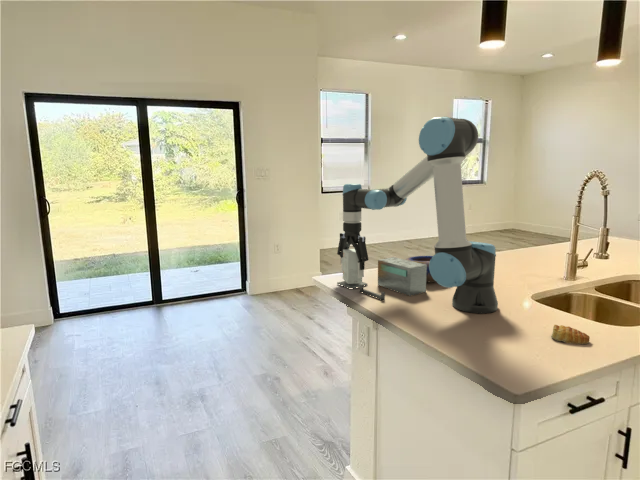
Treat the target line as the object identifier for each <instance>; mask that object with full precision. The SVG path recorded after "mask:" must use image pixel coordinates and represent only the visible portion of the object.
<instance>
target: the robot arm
mask: <svg viewBox="0 0 640 480" xmlns="http://www.w3.org/2000/svg"><path fill="white" fill-rule="evenodd" d="M478 140H479V131H478V128H477V126H476V125H475V124H474V123H473V122H472V121H471V120H468V119H466V118H458V117H457V118H456V117H449V116H436V117H432V118H430V119H429V120H428V121H426V122H425V124H424V125H423V126H422V127H421V128H420V131H419V135H418V145H419V149H420V150H421V151H422V152H423V153H424V154H426V156H425V157H424V158H423V159H421V160H420V161H419V162H418V163H417V164H416V165H414V166H413V167H412V168H411V169H410V170H408V172H405V174H404V175H403V176H402V177H401V176H400V178H399V179H398V180H396V181H395V182H394V183H392V185H391V186H389V187H386V188H375V189H373V188H372V189H369V188H367V189H366V188H365V189H363V188H362V184H361V183H345V184H344V185H343V186H342V221H343V223H342V231H343V232H340V233H339V243H338V247H337V253H336V255H338V256H339V257H340V265H341V267H340V268H341V271H340V272H341V273H342V274H343V249H344V250H345V249H350V247H351V245H352V247H353V249H355V251H356V254H357V257H358V260H359V261H358V278H361V277H362V278H363V277H365V274H364V273H365V268H366V267H365V263H366V262H368V261H369V255H368V251H367V250H368V249H367V244H366V236H364V235H363V236H361V234H360V232H361V231H362V222H361V221H362V209H364V210H365V209H366V210H372V211H375V210H378V211H379V210H383V208H384V209H385V208H391V207H393V208H394V207H395V208H396V207H399V206H403V205H404V204H405V203H406V201H407V199H408V197H410V196H411V195H412V194H414V193H415V192H416V191H417V190H418V189H420V188H421V187H423V186H424V185H425V184H426V183H428V182H429V181H430V180H432V179H433V186H434V187H433V188H434V199H435V210H436V211H435V212H436V223H437V236H438V241H437V242H436V243H435V244H434V255H432V256H433V257H432V259H431V260H430V262H429V271H430V274H431V276H432V278H433V279H434V280H435V281H434V282H436V283H437V285H440V286H441V287H443V288H449V289H450V288H455V287H456V289H455V292H454V294H453V296H452V301H451V302H452V303H451V306H452V307H454V308H455V309H456V310H459V311H463V312H466V313H470V314H471V313H473V314H491V313H494V312H497V311H498V309H499V308H498V307H499V301H498V298H497V294H496V291H495V287H494V283H495V268H496V267H495V266H496V257H497V254H496V249H497V248H496V245H494V244H492V243H487V242H480V241H473V240H468V239H467V232H466V229H467V228H466V219H465V218H466V217H465V208H464V207H465V204H464V203H465V201H464V193H463V179H462V178H463V177H462V163H463V161H465V159H466V157H467V156H468V155H469V154H470V153H471V152H472V151H473V150H474V149H475V147H476V146H477V144H478V142H479V141H478ZM361 258H362V259H361Z"/></svg>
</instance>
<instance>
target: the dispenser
mask: <svg viewBox="0 0 640 480" xmlns="http://www.w3.org/2000/svg"><path fill="white" fill-rule="evenodd" d="M426 273H427V265H426V264H421V263H417V262H413V261H409V260H406V259H403V258H399V257H394V256H392V257H386V258H382V259H381V258H380V259H378V260H377V286H378V285H380V286H383V287H386V288H389V289H388V290H390V289H392V290H391V291H393V290H395V291H394V292H396V291H398V292H397V293H399V292H400V294H402V293H404V294H403V295H405V294H406V295H405V296H408V295H409V297H412V296H411V295H413V296H416V295H419V293H420V294H423V293H426V292H427V282H426ZM380 286H379V287H380ZM383 287H382V288H383ZM386 288H385V289H386ZM360 292H363V293H366V294H368V295H371V296H374V297H377V298H379V299H378V300H380V299H381V300H380V301H382V300H384V301H385V300H386V296H385V295H386V291H380V293H377V292H374V291H371V290H368V289H365V288H364V287H363V285H360V288H359V293H360ZM422 292H423V293H422ZM363 293H362V294H363ZM366 294H365V295H366ZM415 294H416V295H415ZM368 295H367V296H368ZM371 296H370V297H371ZM374 297H373V298H374ZM377 298H376V299H377Z"/></svg>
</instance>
